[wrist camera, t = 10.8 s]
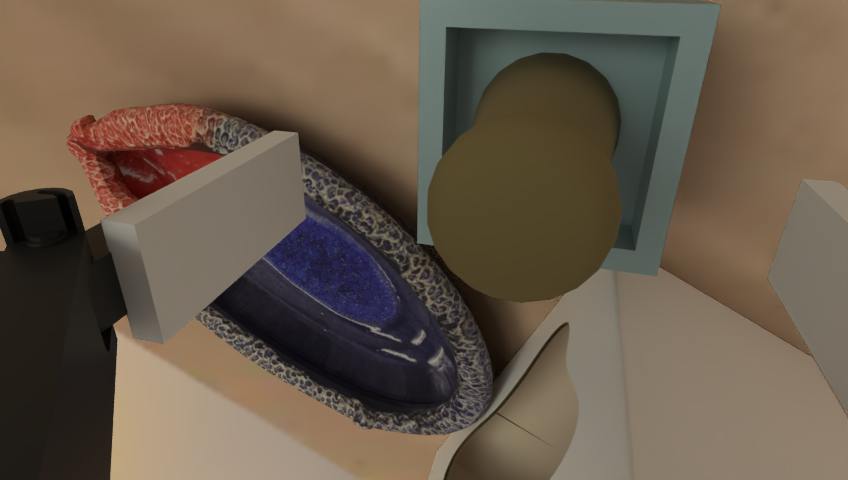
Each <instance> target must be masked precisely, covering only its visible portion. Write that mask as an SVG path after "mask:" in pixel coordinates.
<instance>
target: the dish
mask: <svg viewBox="0 0 848 480" xmlns="http://www.w3.org/2000/svg"><path fill="white" fill-rule="evenodd" d="M70 130H71V134H70V135H69V136H68V137H67V147H68V149H69V150H70V152H71V153H72V154H73V155H75V156H76V157H77V158H78V159H79V161H80V163H81V165H82V167H83V168H84V170H85V172H86V174H87V176H88V178H89V181H90V183H91V185H92V188H93V190H94V192H95V195H96V197H97V199H98V201H99V203H100V204H101V206H102V208H103V210H104V212H105V213H106V215H107V216H109V215H111V214H113V213H115V212H117V211H119V210H121V209H123V208H125V207H127V206H129V205H130V204H132V203H134V202H136V201H138V200H140V199H142V198H144V197H146V196H148V195H150V194H152V193H154V192H156V191H158V190H160V189H162V188H164V187H165V186H167V185H169V184H171V183H173V182H175V181H177V180H179V179H181V178H183V177H185V176H187V175H189V174H191V173H193V172H195V171H197V170H198V169H200V168H202V167H204V166H206V165H208V164H210V163H212V162H214V161H216V160H218V159H220V158H222V157H224V156H226V155H228V154H230V153H232V152H233V151H235V150H237V149H239V148H241V147H243V146H245V145H247V144H249V143H251V142H253V141H255V140H257V139H259V138H261V137H263V136H265V135H267V134H268V133H270V132H272V131H271V130H269V129H267V128H265V127H263V126H260V125H258V124H256V123H253V122H250V121H247V120H244V119H241V118H238V117H235V116H233V115H229V114H225V113H222V112H219V111H216V110H213V109H210V108H206V107H200V106H194V105H188V104H182V103H176V104H161V105H154V106H148V107H131V108H125V109H120V110H115V111H112V112H111V113H109V114H107V115H106V116H104V117H103V118H101V119H99V120H98V121H96V120H95V118H94V116H93V115H87V116H85V117H82V118H80V119H78V120H76V121H75V122H74V123H73V124H72V126H71V129H70ZM299 149H300V159H301V170H302V181H303V192H304V202H305V213H306V219H305V220H304V221H303V222H301V223H300V224H299V225H298V226H297V227H296V228H295V229H294V230H292V231H291V232H290V233H289V234H288V235H287V236H286V237H285V238H283V239H282V240H281V241H280V242H279V243H278V244H277V245H276V246H274V247H273V248H272V249H271V250H270V251H269V252H268V253H267V254H265V255H264V256H263V257H262V258H261V259H260V260H259V261H257V262H256V263H255V264H254V265H253V266H252V267H251V268H250V269H248V270H247V271H246V272H245V273H244V274H243V275H242V276H241V277H239V278H238V279H237V280H236V281H235V282H234V283H233V284H232V285H230V286H229V287H228V288H227V289H226V290H225V291H224V292H223V293H221V294H220V295H219V296H218V297H217V298H216V299H215V300H214V301H212V302H211V303H210V304H209V305H208V306H207V307H206V308H204V309H203V310H202V311H201V312H200V313H199V314H198V315H197V316H195V318H196V319H197V320H199V321H200V322H201V323H202V324H203V325H205V326H206V327H207V328H208V329H210V330H211V331H212V332H213V333H214V334H216V335H217V336H218V337H220V338H221V339H222V340H224V341H225V342H226V343H228V344H229V345H230V346H232V347H233V348H234V349H236V350H237V351H238V352H240V353H241V354H243V355H244V356H246V357H247V358H249V359H250V360H252V361H253V362H255V363H256V364H258V365H259V366H260V367H262V368H263V369H265V370H266V371H268V372H270V373H271V374H273V375H275V376H276V377H278V378H279V379H281V380H283V381H284V382H286V383H288V384H289V385H291V386H293V387H294V388H296V389H298V390H300V391H302V392H303V393H305V394H307V395H309V396H310V397H312V398H314V399H316V400H318V401H319V402H321V403H323V404H325V405H327V406H329V407H330V408H332V409H334V410H336V411H338V412H339V413H341V414H343V415H345V416H347V417H349V418H351V419H353V422H354V423H355V425H356V426H358V427H359V428H362V429H371V428H377V429H382V430H387V431H394V432H401V433H408V434H419V435H443V434H448V433H452V432H456V431H460V430H462V429H465V428H467V427H468V426H470V425H472V424H474V423H475V422H477V421H478V420H479V418H480V417H481V416H482V415H483V414H484V413H485V412H486V409H487V407H488V404H489V402H490V399H491V393H492V382H493V374H492V367H491V360H490V356H489V353H488V350H487V347H486V344H485V341H484V338H483V336H482V334H481V332H480V330H479V328H478V325H477V323H476V320H475V318H474V316H473V314H472V312H471V310H470V308H469V306H468V304H467V302H466V300H465V298H464V297H463V295H462V294H461V292H460V291H459V289H458V288H457V286H456V285H455V283H454V282H453V280H452V278H451V277H450V276H449V274H448V273H447V272H446V270H445V269H444V268H443V267H442V265H441V264H440V263H439V261H438V260H437V259H436V258H435V256H434V255H433V254H432V253H431V252H430V251H429V250H428V248H427V247H426V246H425V245H424V244H419V243H417V236H416V235H415V234H414V233H413V232H412V231H411V230H410V229H409V228H408V227H407V226H406V225H405V224H404V223H403V222H402V221H400V220H399V219H398V218H397V217H396V216H395V215H394V214H393V213H392V212H391V211H390V210H389V209H388V208H387V207H385V206H384V205H383V204H382V203H381V202H379V201H378V200H377V199H376V198H375V197H373V196H372V195H371V194H370V193H368V192H367V191H366V190H365V189H363V188H362V187H361V186H359V185H358V184H357V183H355V182H354V181H352V180H351V179H350V178H348V177H347V176H346V175H344V174H343V173H342V172H340V171H339V170H337V169H336V168H334V167H333V166H331V165H330V164H328V163H326V162H325V161H323V160H322V159H320V158H319V157H317V156H316V155H314V154H313V153H311V152H309V151H308V150H306V149H304V148H303V147H301V146H299Z"/></svg>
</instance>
